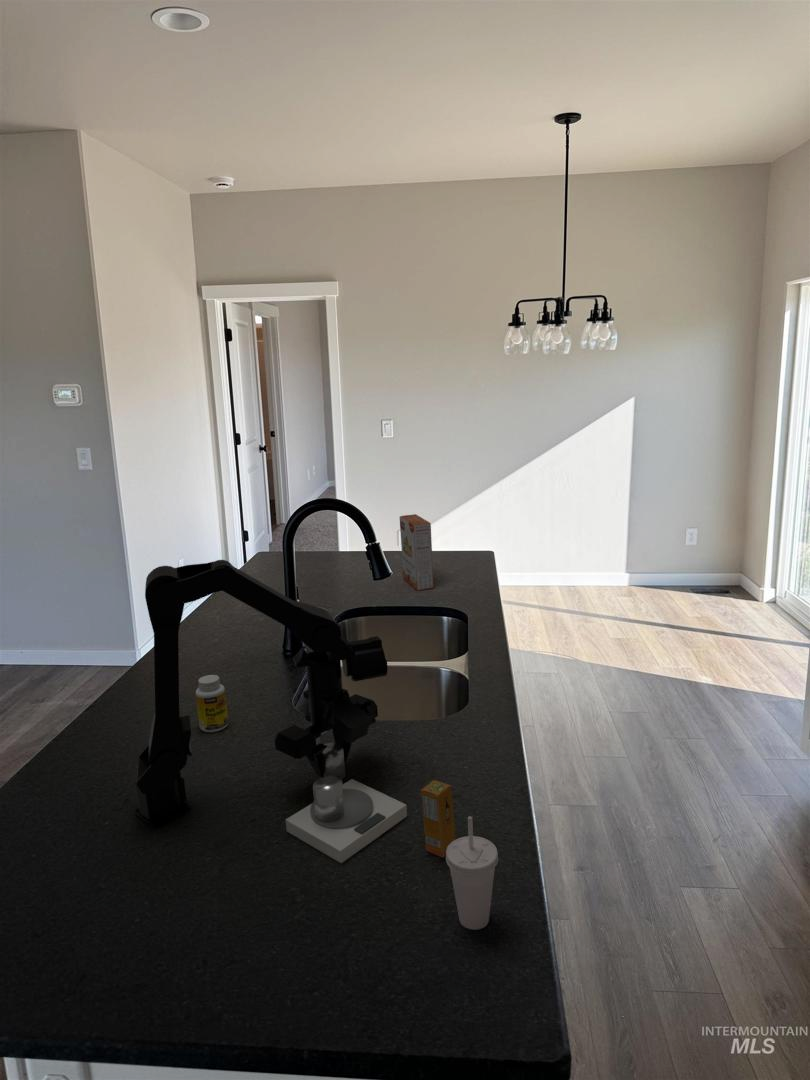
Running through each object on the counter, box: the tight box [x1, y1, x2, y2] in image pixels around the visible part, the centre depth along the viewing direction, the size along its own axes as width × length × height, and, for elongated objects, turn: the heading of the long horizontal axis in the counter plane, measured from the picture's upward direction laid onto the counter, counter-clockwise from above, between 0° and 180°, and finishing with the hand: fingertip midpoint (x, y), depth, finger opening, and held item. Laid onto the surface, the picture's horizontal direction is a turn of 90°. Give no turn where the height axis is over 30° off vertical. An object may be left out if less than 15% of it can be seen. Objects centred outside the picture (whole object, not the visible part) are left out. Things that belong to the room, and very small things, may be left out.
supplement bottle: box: [195, 674, 229, 733], centre depth 146 cm, size 6×6×10 cm
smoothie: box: [445, 815, 499, 931], centre depth 92 cm, size 6×6×14 cm
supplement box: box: [420, 779, 457, 859], centre depth 106 cm, size 3×3×10 cm
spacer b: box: [319, 742, 346, 781], centre depth 127 cm, size 4×4×5 cm
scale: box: [285, 778, 408, 864], centre depth 114 cm, size 14×12×3 cm
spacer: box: [312, 776, 344, 823], centre depth 112 cm, size 4×4×5 cm
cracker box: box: [399, 513, 435, 591], centre depth 231 cm, size 14×6×21 cm, turn 17°
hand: (331, 769), depth 128 cm, fingers open, 5 cm apart
